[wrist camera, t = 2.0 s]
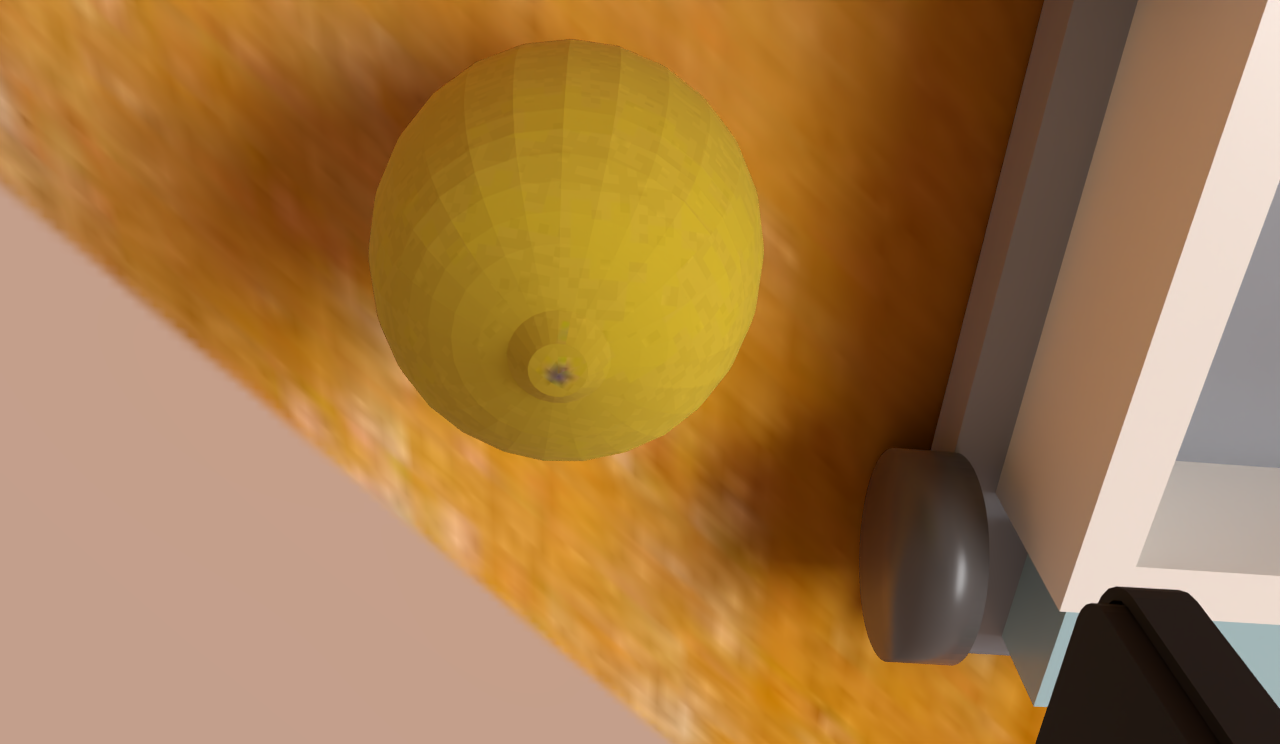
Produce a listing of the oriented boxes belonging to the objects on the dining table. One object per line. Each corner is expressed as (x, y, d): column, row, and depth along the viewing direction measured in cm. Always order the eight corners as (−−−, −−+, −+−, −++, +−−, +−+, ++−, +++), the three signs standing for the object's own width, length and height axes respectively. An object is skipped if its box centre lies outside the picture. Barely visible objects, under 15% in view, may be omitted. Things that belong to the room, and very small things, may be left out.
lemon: (399, 273, 21) (290, 531, 14) (441, -38, 18) (333, 78, 11) (692, 329, 21) (734, 603, 14) (771, 36, 19) (868, 191, 12)
